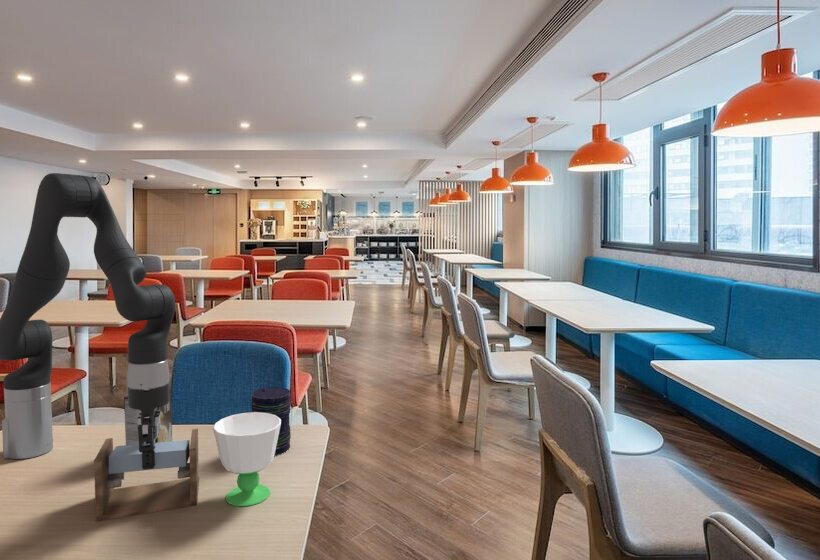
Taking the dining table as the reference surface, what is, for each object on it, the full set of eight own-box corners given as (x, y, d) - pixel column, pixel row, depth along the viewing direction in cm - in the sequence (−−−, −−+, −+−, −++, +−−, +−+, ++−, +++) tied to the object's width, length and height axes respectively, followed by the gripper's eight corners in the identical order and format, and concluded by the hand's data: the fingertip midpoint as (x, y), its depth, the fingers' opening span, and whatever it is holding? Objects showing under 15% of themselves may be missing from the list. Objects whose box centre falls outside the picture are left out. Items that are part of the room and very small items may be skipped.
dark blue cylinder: (298, 446, 131) (298, 391, 130) (269, 460, 122) (269, 401, 121) (272, 437, 136) (272, 384, 135) (243, 450, 128) (242, 393, 127)
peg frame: (95, 521, 95) (93, 460, 94) (107, 493, 105) (105, 438, 104) (197, 504, 101) (196, 448, 100) (199, 480, 111) (198, 428, 111)
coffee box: (151, 445, 129) (150, 385, 128) (173, 448, 128) (172, 387, 127) (124, 460, 120) (123, 396, 119) (147, 463, 119) (146, 398, 118)
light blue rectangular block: (109, 473, 98) (108, 456, 98) (116, 462, 103) (116, 446, 103) (185, 466, 102) (185, 449, 102) (189, 455, 107) (189, 440, 107)
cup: (293, 486, 110) (294, 416, 108) (255, 518, 97) (255, 440, 95) (242, 475, 114) (241, 408, 113) (199, 505, 101) (198, 430, 100)
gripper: (133, 374, 106) (135, 450, 108) (121, 394, 93) (123, 480, 94) (171, 371, 109) (173, 446, 111) (165, 390, 96) (167, 474, 97)
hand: (150, 461), depth 102 cm, fingers closed on light blue rectangular block, 5 cm apart
